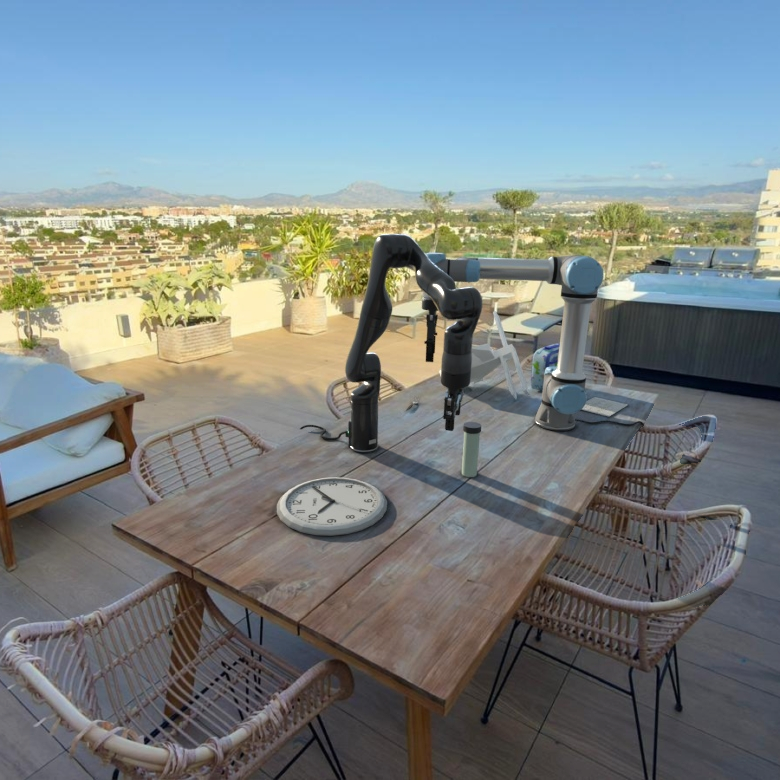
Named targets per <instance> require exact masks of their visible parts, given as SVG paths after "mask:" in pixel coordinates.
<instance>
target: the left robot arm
mask: <svg viewBox="0 0 780 780" xmlns="http://www.w3.org/2000/svg"><path fill="white" fill-rule="evenodd" d="M404 268H407V269H409V270H411V271H413V272H414V276H415V277H414V279H415V282H416V284H417V287H418V288H419V289H420V291H421V290H422V291H421V292H424V293H426V294H427V295H428V296H429V297H430V298H432V300H433V302H434V304H435V305H436V307H437V309H438V313H439V315H441V317H442V318H444V319H446V320H450V321H455V320H456V322H454V323H453V324H451V325H449V326H447V327H446V328H445V330H444V333H443V346H442V347H443V348H442V354H441V366H440V368H441V369H440V370H441V376H440V384H441V385H442V386H443V387H445V388H447V390H446V391H445V397H444V399H443V400H444V401H443V402H444V403H443V404H444V405H443V416H442V418H443V420H445V424H444V430H445V431H449V432H454V429H455V420H456V419H455V418H456V416H460V415H461V406H462V405H461V404H462V402H463V398H464V395H465V394H464V391H465V389H466V388H468V387H469V386H470V384H471V382H470V378H471V365H472V347H473V339H474V338H473V337H474V334H475V331H476V329H477V325H478V323H479V319H480V318H481V314H482V310H483V297H482V294H481V292H480V291H479V290H478V288H476V287H473V286H468V287H467V286H466V287H461V288H457V285H456V282H454V280H453V279H452V278H451V277H450V276H449V275H447V274H446V273H445V272H443V271H442V270H441V269H439V268H438V267H437V266H436V265H435V264H433V263H432V262H431V260H430V259H429V258H428V257H427V256H426V253H425V252H424V251H423V250H422V248H421V247H420V246H419V244H418V243H417V242H416V241H415V240H414V238H412V237H411V236H410V235H407V234H404V233H399V234H398V233H384V234H380V235H378V236H377V238H376V239H375V240H374V244H373V247H372V253H371V258H370V265H369V272H368V279H367V284H366V289H365V292H364V296H363V301H362V304H361V308H360V312H359V317H358V321H357V325H356V330H355V335H354V337H353V340H352V343H351V346H350V348H349V351H348V354H347V358H346V360H345V364H344V365H345V366H344V373H345V377H346V379H347V380H348V381H349V382H350V383H362V384H361V385H359V386H358V387H356V388H355V389H353V390H352V391H351V392H350V420H349V421H348V425H347V426H348V427H347V429H346V430H345V431H342V432H340V433H339V434H338V436H335V437H327V436H323V435H325V433H326V432H327V430H326V428H324V427H322V426H319V425H315V424H306V425H303V426H301V427H299V430H303V429H305V428H316V429H318V430H322V432H321V433H320V434H319V437H320V438H321V439H323V440H325V441H336V440H340V438H341V437H342V435H345V438H348V449H351V450H352V451H353V452H356V453H361V454H362V453H363V454H364V453H365V454H367V453H373V452H375V451H376V450H378V449H379V444H378V443H379V396H380V391H381V376H382V365H381V360H380V357H379V356H378V354H377V353H375V352H368V351H369V350H370V348H371V347H372V346H373V345H374V344H375V343H376V342H377V341H378V340H379V339H380V338H381V337H382V336H383V335H384V333H385V332H386V331H387V329H388V327H389V324H390V322H391V321H390V320H391V318H392V313H393V302H392V299H391V297H390V294H389V292H388V289H387V286H386V280H387V274H388V271H389V270H390V269H404ZM449 412H450V413H449Z"/></svg>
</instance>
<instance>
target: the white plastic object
mask: <svg viewBox="0 0 780 780" xmlns="http://www.w3.org/2000/svg"><path fill="white" fill-rule="evenodd" d="M492 315H493V319H494V321H495V324H496V325H495V326H496V328H497V332H498V335H499V338H500V342H501V345H502V347H500V348H498V349H496V350H495V349H493V348H492V347H491V346H490V344H489V343H488V342H487V343H483V344H479V345H473V346H472V365H471V378H470V383H473V384H477V383H480V382H482V381H484V378H485V377H486V376H487V375H489V374H490V373H492V372H494V371H495V370H496V369H497V368H499V367H500V366H502V370H503V373H504V376H505V380H506V383H507V386H508V390H509V393H510V394H511V395H512V397H513V398H514V399H515V400H517V392H516V391H517V390H516V388H515V385H514V381H513V378H512V375H511V371H510V369H509V365H508V361H510V360H513V363H514V366H515V369H516V372H517V376H518V380H519V382H520V385H521V389H522V391H523V393H524V395H525V396H526V397H528V396H531V395H530V390H529V388H528V387H529V386H528V384H527V381H526V378H525V375H524V371H523V369H522V368H523V367H522V366H521V362H520V359H519V355H518V352H517V349H516V347H515V346H514V345H513V343H511V344H508V341H507V337H506V334H505V331H504V328H503V325H502V321H501V318H500V315H499V314H498V312H497V311H496V310H495V311H492ZM438 372H439V376H440V377H441V369H440V370H439V371H438Z"/></svg>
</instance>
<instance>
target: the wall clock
mask: <svg viewBox="0 0 780 780" xmlns="http://www.w3.org/2000/svg"><path fill="white" fill-rule="evenodd" d="M387 509H388V500H387V498H386V496H385V494H384V493H383V492H382V491H381V490H380V489H379V488H377V487H376V486H374V485H372V484H371V483H369V482H365V481H362V480H359V479H355V478H349V477H338V476H337V477H335V476H333V477H332V476H331V477H322V478H317V479H312V480H307V481H305V482H302V483H299V484H297V485H295V486H293V487H292V488H290V489H288V490H287V491H286V492H285V493H284V494H283V495H281V496H280V498H279V499H278V502H277V503H276V515H277V517H278V518H279V520H280V521H281V522H282V523H283V524H285V525H286V526H287V527H288V528H290V529H293V530H295V531H297V532H299V533H303V534H308V535H312V536H327V537H328V536H329V537H331V536H332V537H333V536H342V535H350V534H352V533H356V532H361V531H363V530H366V529H368V528H369V527H372V526H373V525H375V524H376V523H378V522H379V521H380V520H381V519H382V518H383V517H384V516H385V514H386V512H387Z"/></svg>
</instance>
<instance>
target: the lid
mask: <svg viewBox="0 0 780 780" xmlns="http://www.w3.org/2000/svg"><path fill="white" fill-rule="evenodd" d="M462 430H463V433H464V432H466V433H470V434H477V433H480V434H481V432H482V424H481V423H480V422H478V421H477V422H476V421H466V422H464V423H463V427H462Z"/></svg>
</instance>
